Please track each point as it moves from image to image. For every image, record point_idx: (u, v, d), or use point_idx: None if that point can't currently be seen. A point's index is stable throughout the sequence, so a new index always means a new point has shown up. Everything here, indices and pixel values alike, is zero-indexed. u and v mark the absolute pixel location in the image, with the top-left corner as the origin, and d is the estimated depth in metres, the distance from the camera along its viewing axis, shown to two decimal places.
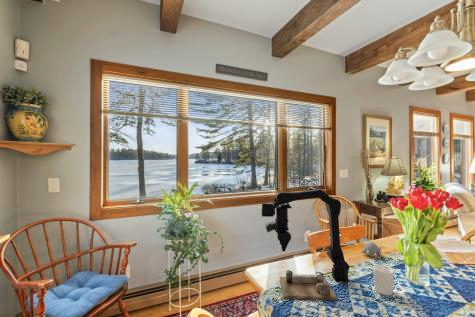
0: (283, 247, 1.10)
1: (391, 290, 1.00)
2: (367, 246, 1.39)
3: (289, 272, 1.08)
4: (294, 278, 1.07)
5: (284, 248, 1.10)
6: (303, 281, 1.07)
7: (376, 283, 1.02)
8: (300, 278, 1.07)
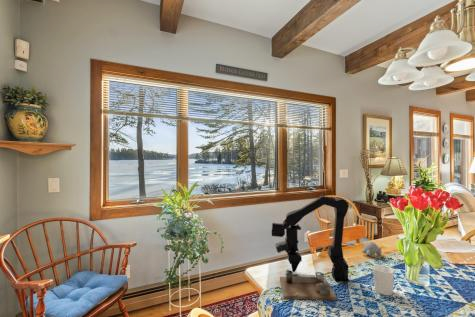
0: (293, 268, 1.13)
1: (391, 290, 1.00)
2: (367, 246, 1.39)
3: (289, 272, 1.08)
4: (294, 278, 1.07)
5: (294, 269, 1.13)
6: (303, 281, 1.07)
7: (376, 283, 1.02)
8: (300, 278, 1.07)
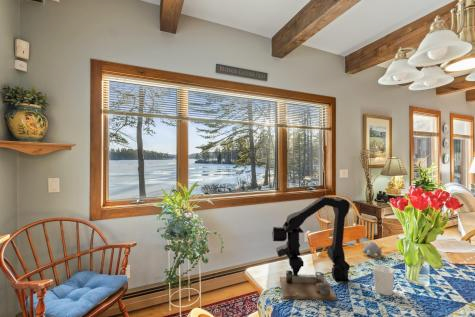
0: (295, 272, 1.09)
1: (391, 290, 1.00)
2: (368, 246, 1.39)
3: (289, 272, 1.08)
4: (294, 278, 1.07)
5: (296, 273, 1.09)
6: (303, 281, 1.07)
7: (376, 283, 1.02)
8: (300, 278, 1.07)
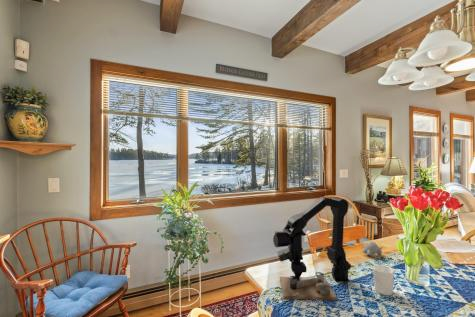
0: (297, 276, 1.05)
1: (391, 290, 1.00)
2: (368, 246, 1.39)
3: (293, 277, 1.03)
4: (298, 283, 1.03)
5: (298, 277, 1.05)
6: (306, 284, 1.04)
7: (376, 283, 1.02)
8: (304, 282, 1.04)
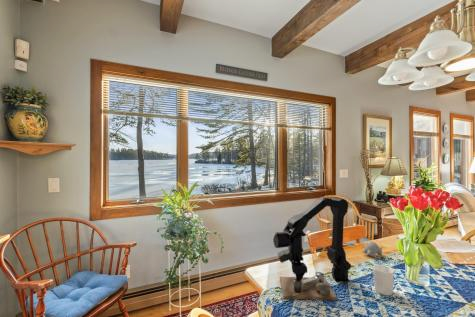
0: None
1: (391, 290, 1.00)
2: (368, 246, 1.39)
3: (298, 281, 1.00)
4: (302, 285, 1.01)
5: None
6: (309, 286, 1.03)
7: (376, 283, 1.02)
8: (307, 284, 1.02)
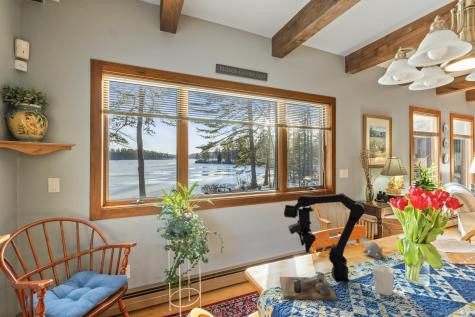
0: (307, 248, 1.16)
1: (391, 290, 1.00)
2: (368, 246, 1.39)
3: (298, 281, 1.00)
4: (302, 285, 1.01)
5: (308, 249, 1.16)
6: (309, 286, 1.03)
7: (376, 283, 1.02)
8: (307, 284, 1.02)
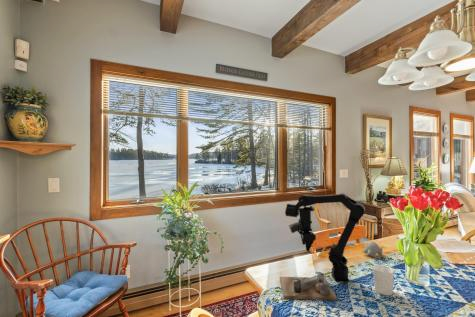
0: (307, 247, 1.17)
1: (391, 290, 1.00)
2: (369, 246, 1.39)
3: (298, 281, 1.00)
4: (302, 285, 1.01)
5: (308, 248, 1.17)
6: (309, 286, 1.03)
7: (376, 283, 1.02)
8: (307, 284, 1.02)
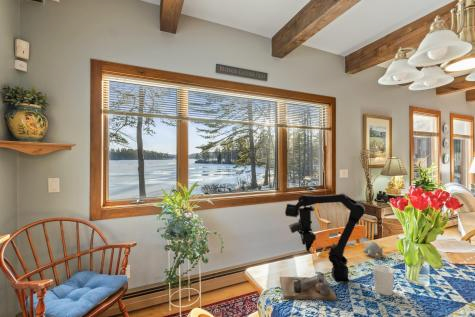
0: (307, 247, 1.17)
1: (391, 290, 1.00)
2: (369, 246, 1.39)
3: (298, 281, 1.00)
4: (302, 285, 1.01)
5: (308, 248, 1.17)
6: (309, 286, 1.03)
7: (376, 283, 1.02)
8: (307, 284, 1.02)
